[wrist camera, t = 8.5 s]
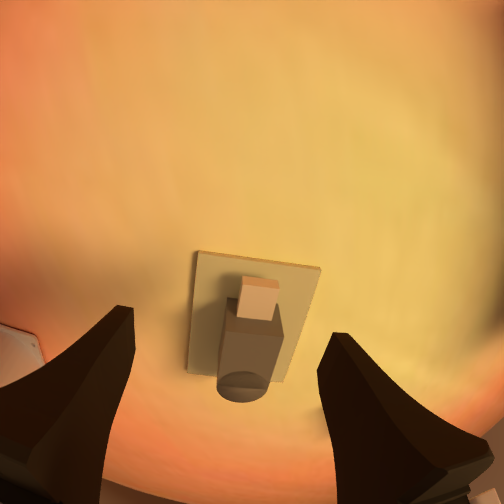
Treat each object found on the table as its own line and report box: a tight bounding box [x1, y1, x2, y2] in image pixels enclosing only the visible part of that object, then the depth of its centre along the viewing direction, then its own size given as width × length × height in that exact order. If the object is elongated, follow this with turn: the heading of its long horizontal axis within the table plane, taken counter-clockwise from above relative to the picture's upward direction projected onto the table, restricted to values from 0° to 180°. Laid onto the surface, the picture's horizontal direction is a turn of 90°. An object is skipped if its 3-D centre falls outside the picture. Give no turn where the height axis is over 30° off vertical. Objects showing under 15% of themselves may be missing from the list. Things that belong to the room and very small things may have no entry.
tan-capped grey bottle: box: [217, 276, 284, 403], centre depth 21 cm, size 9×4×4 cm, turn 170°
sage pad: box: [187, 251, 321, 382], centre depth 23 cm, size 11×8×1 cm
